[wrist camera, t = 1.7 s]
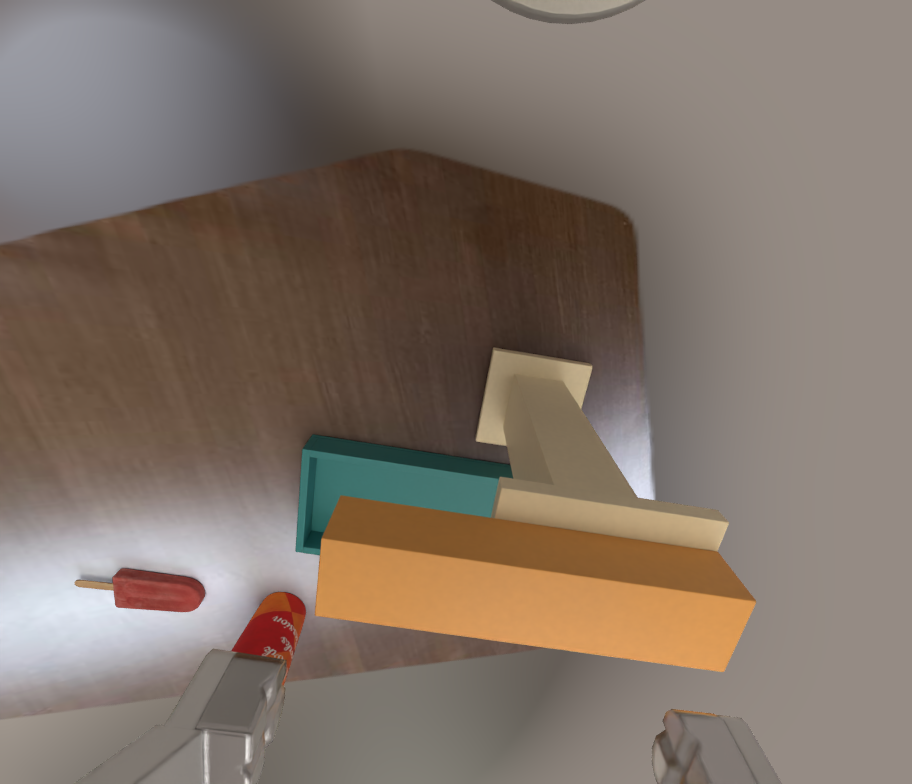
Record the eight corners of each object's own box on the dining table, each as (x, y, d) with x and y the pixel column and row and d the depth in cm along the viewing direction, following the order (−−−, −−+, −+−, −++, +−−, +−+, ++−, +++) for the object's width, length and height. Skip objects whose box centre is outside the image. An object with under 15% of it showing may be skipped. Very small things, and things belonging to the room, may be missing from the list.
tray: (305, 531, 56) (295, 551, 53) (312, 434, 52) (302, 448, 49) (529, 564, 57) (533, 586, 54) (554, 471, 53) (560, 488, 50)
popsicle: (67, 572, 56) (198, 586, 57) (78, 562, 58) (205, 576, 59) (71, 603, 58) (199, 616, 58) (82, 592, 59) (206, 605, 60)
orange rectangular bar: (333, 565, 26) (314, 616, 23) (340, 494, 25) (321, 538, 21) (691, 616, 27) (724, 672, 24) (717, 551, 26) (757, 601, 22)
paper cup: (317, 634, 61) (277, 747, 48) (257, 633, 61) (200, 746, 48) (311, 583, 59) (267, 688, 45) (248, 583, 59) (186, 687, 46)
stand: (466, 435, 52) (470, 625, 27) (483, 345, 49) (505, 470, 24) (575, 452, 52) (675, 654, 28) (599, 364, 49) (736, 506, 25)
